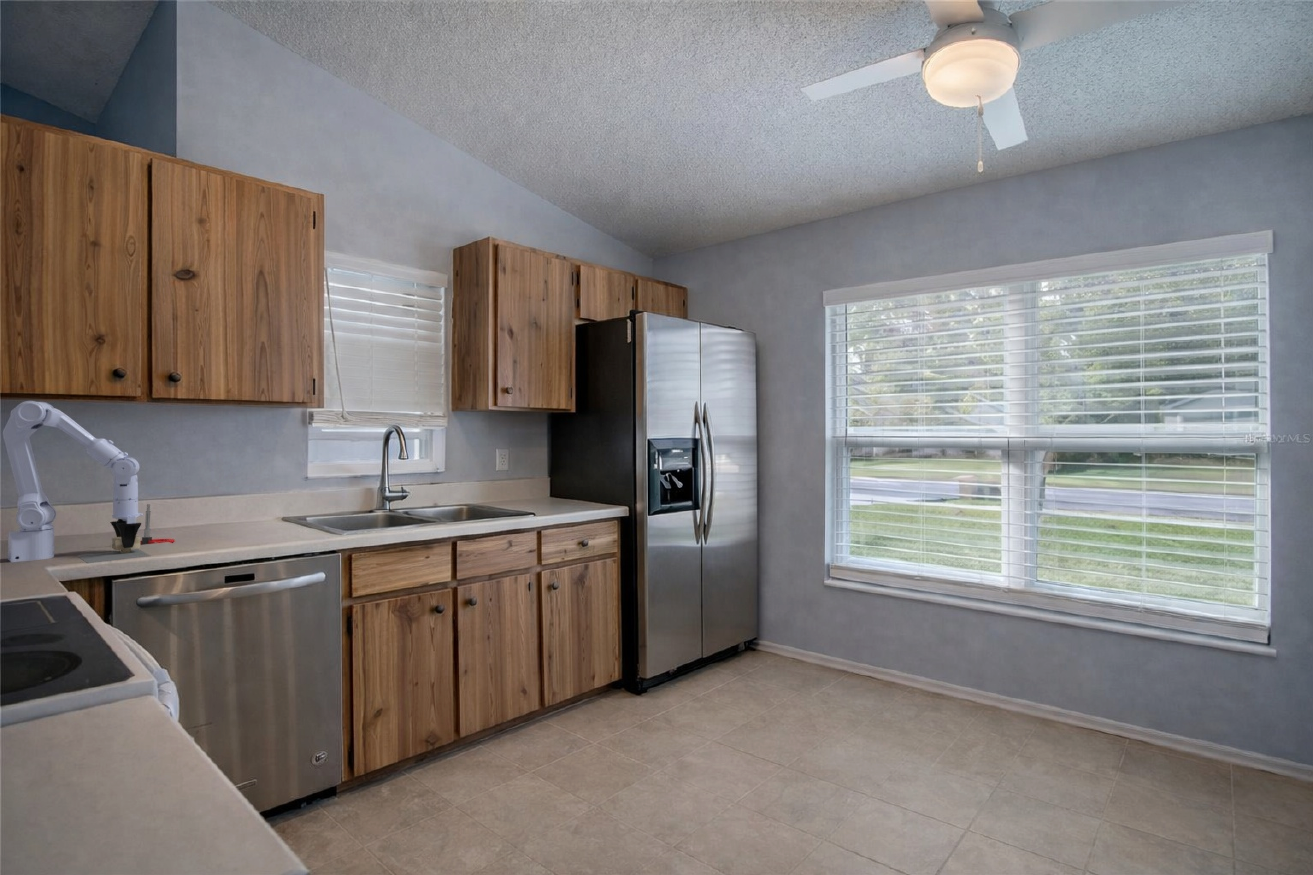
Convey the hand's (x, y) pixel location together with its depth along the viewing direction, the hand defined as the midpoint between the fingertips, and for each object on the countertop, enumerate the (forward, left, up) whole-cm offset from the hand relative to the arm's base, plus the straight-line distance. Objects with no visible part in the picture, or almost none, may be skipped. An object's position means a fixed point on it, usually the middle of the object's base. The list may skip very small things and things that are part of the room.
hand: (126, 546), depth 198 cm
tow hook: (+12, +19, -3) cm, 22 cm away
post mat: (-3, -4, -3) cm, 6 cm away
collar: (0, 0, 0) cm, 0 cm away
